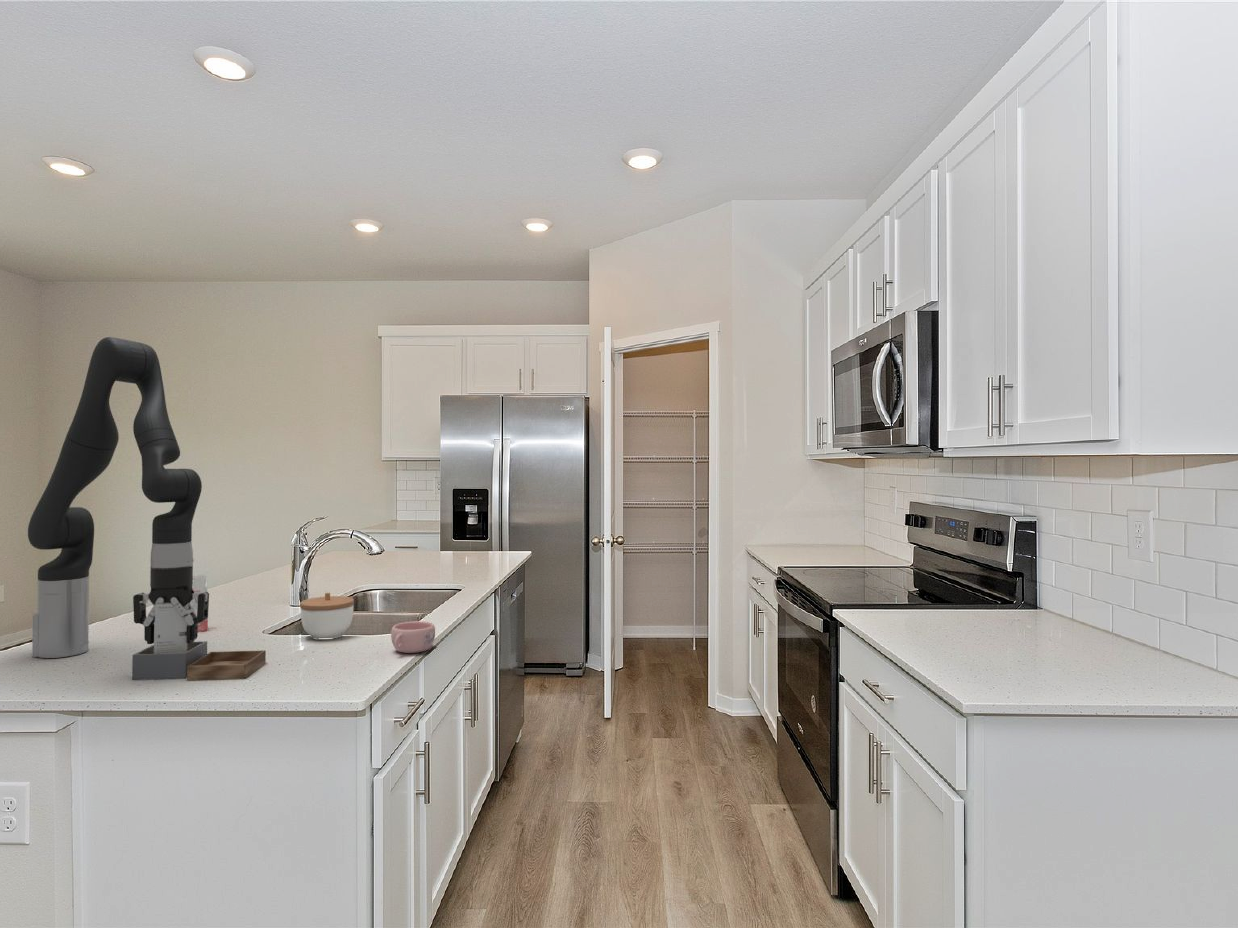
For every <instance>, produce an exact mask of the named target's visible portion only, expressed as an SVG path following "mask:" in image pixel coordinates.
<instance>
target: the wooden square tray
mask: <svg viewBox="0 0 1238 928" xmlns="http://www.w3.org/2000/svg"><path fill="white" fill-rule="evenodd" d="M266 655H267V653H266V649H265V650H236V651H235V650H233V651H231V650H229V651H210V652H207V655H205V656H203V657H202V658H200V659H198V660H197V661H195V662H193V663H192V664H190V665H188V666H187V678H186V681H210V680H212V681H215V680H238V679H239V680H240V679H242V680H243V679H247V678H249V677H250V676H251V675H253V673H255V672H257V670H258V669H259V670H260V668H262V666H264V665H265V664H266V662H267V661H266V660H267V659H266Z"/></svg>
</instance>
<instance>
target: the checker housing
mask: <svg viewBox="0 0 1238 928" xmlns="http://www.w3.org/2000/svg"><path fill="white" fill-rule="evenodd" d="M207 654H208V640H207V641H194V642H192V643H187V652H185V653H167V654H154V644H151V645H150V646H148V647H145V648H144V649H142V650H140V651H138V652H136V653H134V654H132V655H131V656H132V657H131V658H132V660H131V662H132V663H131V664H132V665H131V667H132V670H131V671H132V672H131V675H132V677H131V680H132V681H141V680H142V681H143V680H169V679H170V680H171V679H187V666H188V665H190V664H192V663H193V662H195V661H197V660H198V659H200V658H202V657H203V656H205V655H207Z"/></svg>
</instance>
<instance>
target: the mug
mask: <svg viewBox="0 0 1238 928" xmlns="http://www.w3.org/2000/svg"><path fill="white" fill-rule="evenodd" d="M435 638H436V627H435V624H433V623H432V622H429V621H417V620H413V621H405V622H400V623H395V624H394V625H393V626H392V628H391V631H390V639H391V643H392V646H393V647H394V649H395V650H396V651H397V652H399V653H404V654H416V653H421V652H425V651H427V650H430V648H431V647H432V646H433V644H434V642H435Z"/></svg>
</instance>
